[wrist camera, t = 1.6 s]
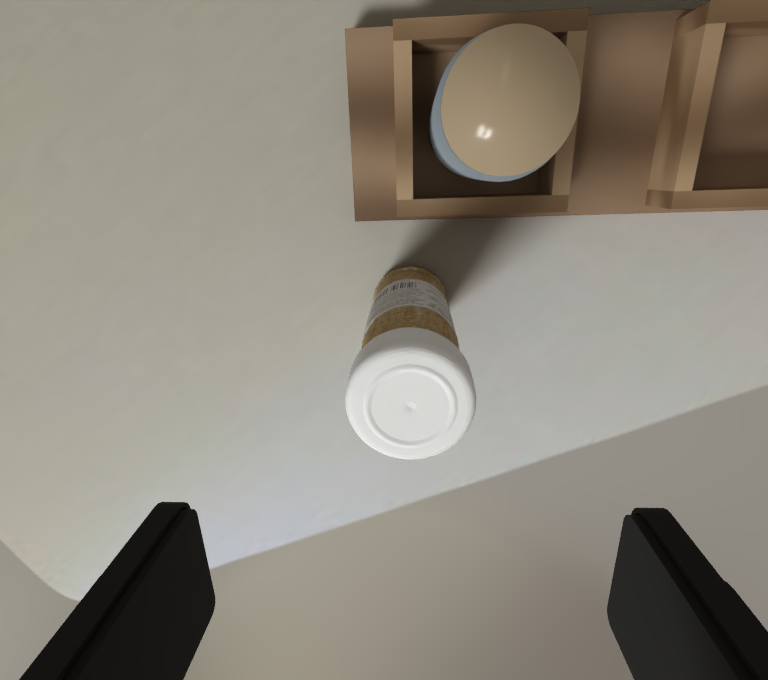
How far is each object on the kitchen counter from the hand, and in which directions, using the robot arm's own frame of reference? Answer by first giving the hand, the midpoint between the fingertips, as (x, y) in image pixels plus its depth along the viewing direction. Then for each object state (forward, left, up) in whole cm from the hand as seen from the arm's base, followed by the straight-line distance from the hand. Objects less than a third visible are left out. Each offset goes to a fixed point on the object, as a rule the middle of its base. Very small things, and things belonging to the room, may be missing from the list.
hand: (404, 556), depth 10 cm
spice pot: (-10, +4, -18) cm, 21 cm away
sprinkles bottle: (0, 0, -19) cm, 19 cm away
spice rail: (-10, +10, -19) cm, 24 cm away
